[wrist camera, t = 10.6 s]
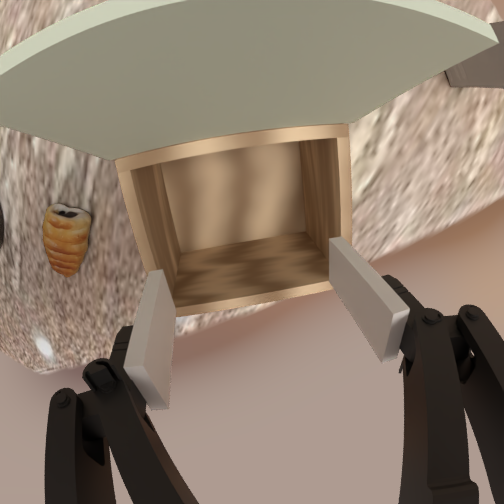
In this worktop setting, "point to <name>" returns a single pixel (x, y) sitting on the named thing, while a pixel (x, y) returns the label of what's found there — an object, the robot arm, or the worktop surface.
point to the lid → (223, 67)
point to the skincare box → (481, 66)
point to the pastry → (66, 237)
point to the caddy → (241, 214)
